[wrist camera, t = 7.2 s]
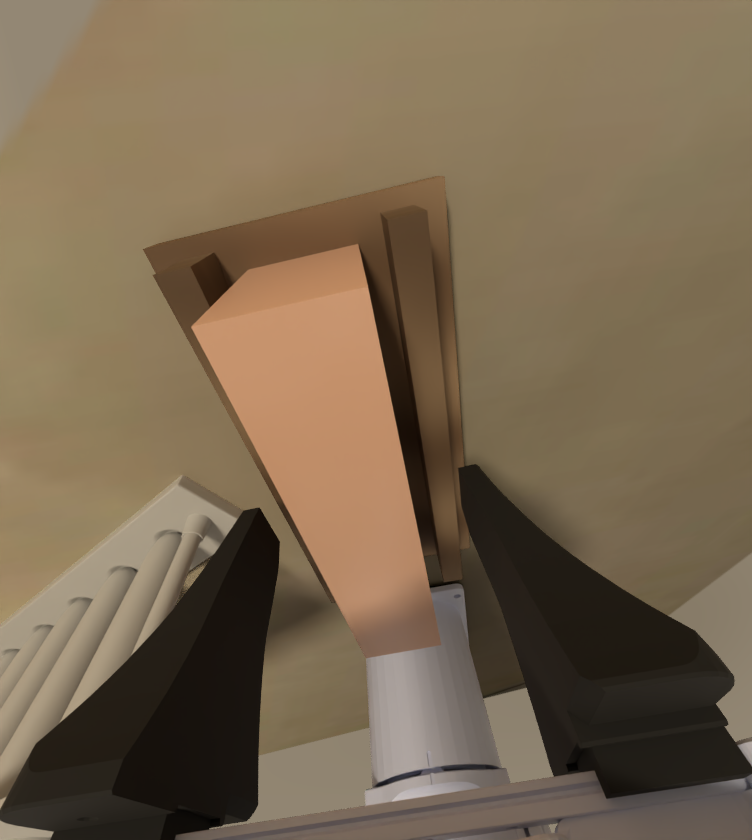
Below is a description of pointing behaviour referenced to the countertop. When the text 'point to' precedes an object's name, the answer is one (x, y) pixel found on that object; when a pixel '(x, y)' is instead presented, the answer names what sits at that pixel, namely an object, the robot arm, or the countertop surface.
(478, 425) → the countertop surface
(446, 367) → the strip rack
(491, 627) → the countertop surface
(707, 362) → the countertop surface
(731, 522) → the countertop surface
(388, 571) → the peach rectangular block
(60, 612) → the test tube rack
